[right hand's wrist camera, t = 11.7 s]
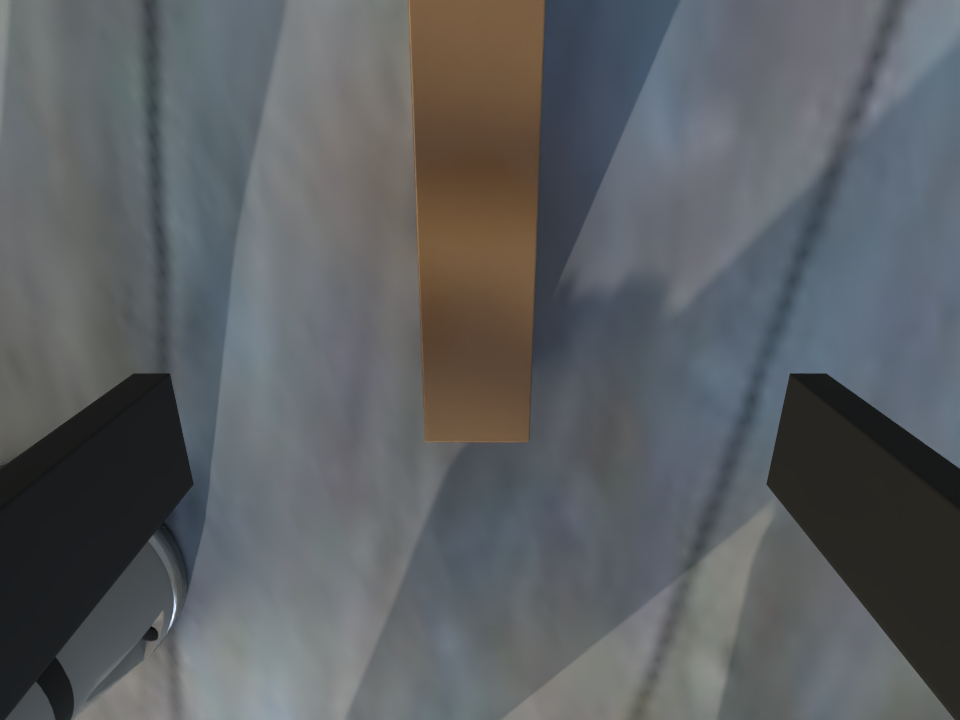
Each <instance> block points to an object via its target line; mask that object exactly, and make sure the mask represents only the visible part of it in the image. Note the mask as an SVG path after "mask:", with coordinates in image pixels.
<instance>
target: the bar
mask: <svg viewBox="0 0 960 720" xmlns="http://www.w3.org/2000/svg"><path fill="white" fill-rule="evenodd" d="M545 3H546V0H408V10H409V37H410V63H411V89H412V115H413V142H414V168H415V194H416V220H417V246H418V273H419V299H420V325H421V351H422V378H423V404H424V430H425V441H426V442H529V438H530V411H531V383H532V356H533V329H534V302H535V275H536V248H537V221H538V193H539V166H540V139H541V112H542V85H543V58H544V31H545Z"/></svg>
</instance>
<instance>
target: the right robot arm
mask: <svg viewBox="0 0 960 720" xmlns="http://www.w3.org/2000/svg"><path fill="white" fill-rule="evenodd" d="M192 486H193V480H192V475H191V471H190V466H189V461H188V456H187V452H186V447H185V442H184V438H183V433H182V428H181V423H180V419H179V414H178V409H177V405H176V400H175V395H174V391H173V386H172V381H171V376H170V374H132V375H131V376H130V377H128V378H127V379H125V380H124V381H123V382H121V383H120V384H118V385H117V386H116V387H114V388H113V389H111V390H110V391H109V392H107V393H106V394H104V395H103V396H102V397H100V398H99V399H97V400H96V401H95V402H93V403H92V404H90V405H89V406H88V407H86V408H85V409H83V410H82V411H81V412H79V413H78V414H76V415H75V416H74V417H72V418H71V419H69V420H68V421H67V422H65V423H64V424H62V425H61V426H60V427H58V428H57V429H55V430H54V431H53V432H51V433H50V434H48V435H47V436H46V437H44V438H43V439H41V440H40V441H39V442H37V443H36V444H34V445H33V446H32V447H30V448H29V449H27V450H26V451H25V452H23V453H22V454H20V455H19V456H18V457H16V458H15V459H13V460H12V461H11V462H9V463H8V464H6V465H5V466H1V467H0V720H74V719H75V717H77V716H78V715H79V714H80V713H81V712H83V711H84V710H85V709H86V708H87V707H88V706H90V705H91V704H92V703H93V702H94V701H96V700H97V699H98V698H99V697H100V696H102V695H103V694H104V693H105V692H106V691H107V690H109V689H110V688H111V687H112V686H113V685H115V684H116V683H117V682H118V681H119V680H121V679H122V678H123V677H124V676H125V675H126V674H128V673H129V672H130V671H131V670H132V669H134V668H135V667H136V666H137V665H138V664H139V663H141V662H142V661H143V660H144V659H145V658H147V657H148V656H149V655H150V654H151V653H152V652H153V651H154V650H155V649H156V648H157V647H158V646H159V645H160V643H161V642H162V641H163V639H164V638H165V636H166V635H167V633H168V632H169V630H170V628H171V627H172V625H173V624H174V622H175V620H176V619H177V617H178V615H179V613H180V611H181V609H182V607H183V604H184V601H185V597H186V591H187V576H186V569H185V564H184V561H183V558H182V555H181V553H180V550H179V548H178V546H177V544H176V542H175V541H174V539H173V537H172V535H171V534H170V533H169V531H168V530H167V528H166V527H165V526H164V524H163V522H164V521H165V519H166V518H167V517H168V516H169V514H170V513H171V512H172V511H173V509H174V508H175V507H176V506H177V504H178V503H179V502H180V501H181V499H182V498H183V497H184V496H185V494H186V493H187V492H188V491H189V489H190V488H191V487H192ZM767 486H768V487H769V488H770V489H771V491H772V492H773V493H774V494H775V496H776V497H777V498H778V499H779V501H780V502H781V503H782V504H783V506H784V507H785V508H786V509H787V511H788V512H789V513H790V514H791V516H792V517H793V518H794V519H795V521H796V522H797V523H798V524H799V526H800V527H801V528H802V529H803V531H804V532H805V533H806V534H807V536H808V537H809V538H810V539H811V541H812V542H813V543H814V544H815V546H816V547H817V548H818V549H819V551H820V552H821V553H822V554H823V556H824V557H825V558H826V559H827V561H828V562H829V563H830V564H831V566H832V567H833V568H834V569H835V571H836V572H837V573H838V574H839V576H840V577H841V578H842V579H843V581H844V582H845V583H846V584H847V586H848V587H849V588H850V589H851V591H852V592H853V593H854V594H855V596H856V597H857V598H858V599H859V601H860V602H861V603H862V604H863V606H864V607H865V608H866V609H867V611H868V612H869V613H870V614H871V616H872V617H873V618H874V619H875V621H876V622H877V623H878V624H879V626H880V627H881V628H882V629H883V631H884V632H885V633H886V634H887V636H888V637H889V638H890V639H891V641H892V642H893V643H894V644H895V646H896V647H897V648H898V649H899V651H900V652H901V653H902V654H903V656H904V657H905V658H906V659H907V661H908V662H909V663H910V664H911V665H912V667H913V668H914V669H915V670H916V672H917V673H918V674H919V675H920V677H921V678H922V679H923V680H924V682H925V683H926V684H927V685H928V687H929V688H930V689H931V690H932V692H933V693H934V694H935V695H936V697H937V698H938V699H939V700H940V702H941V703H942V704H943V705H944V707H945V708H946V709H947V710H948V712H949V713H950V714H951V715H952V717H953V718H954V719H955V720H960V469H959V468H958V467H956V466H955V465H954V464H952V463H951V462H949V461H948V460H947V459H945V458H944V457H942V456H941V455H940V454H938V453H937V452H935V451H934V450H933V449H931V448H930V447H928V446H927V445H926V444H924V443H923V442H921V441H920V440H919V439H917V438H916V437H914V436H913V435H912V434H910V433H909V432H907V431H906V430H905V429H903V428H902V427H900V426H899V425H898V424H896V423H895V422H893V421H892V420H891V419H889V418H888V417H886V416H885V415H884V414H882V413H881V412H879V411H878V410H877V409H875V408H874V407H872V406H871V405H870V404H868V403H867V402H865V401H864V400H863V399H861V398H860V397H858V396H857V395H856V394H854V393H853V392H851V391H850V390H849V389H847V388H846V387H844V386H843V385H842V384H840V383H839V382H837V381H836V380H835V379H833V378H832V377H830V376H829V375H828V374H790V376H789V381H788V386H787V391H786V395H785V400H784V405H783V409H782V414H781V419H780V423H779V428H778V433H777V438H776V442H775V447H774V452H773V456H772V461H771V466H770V471H769V475H768V480H767Z"/></svg>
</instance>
